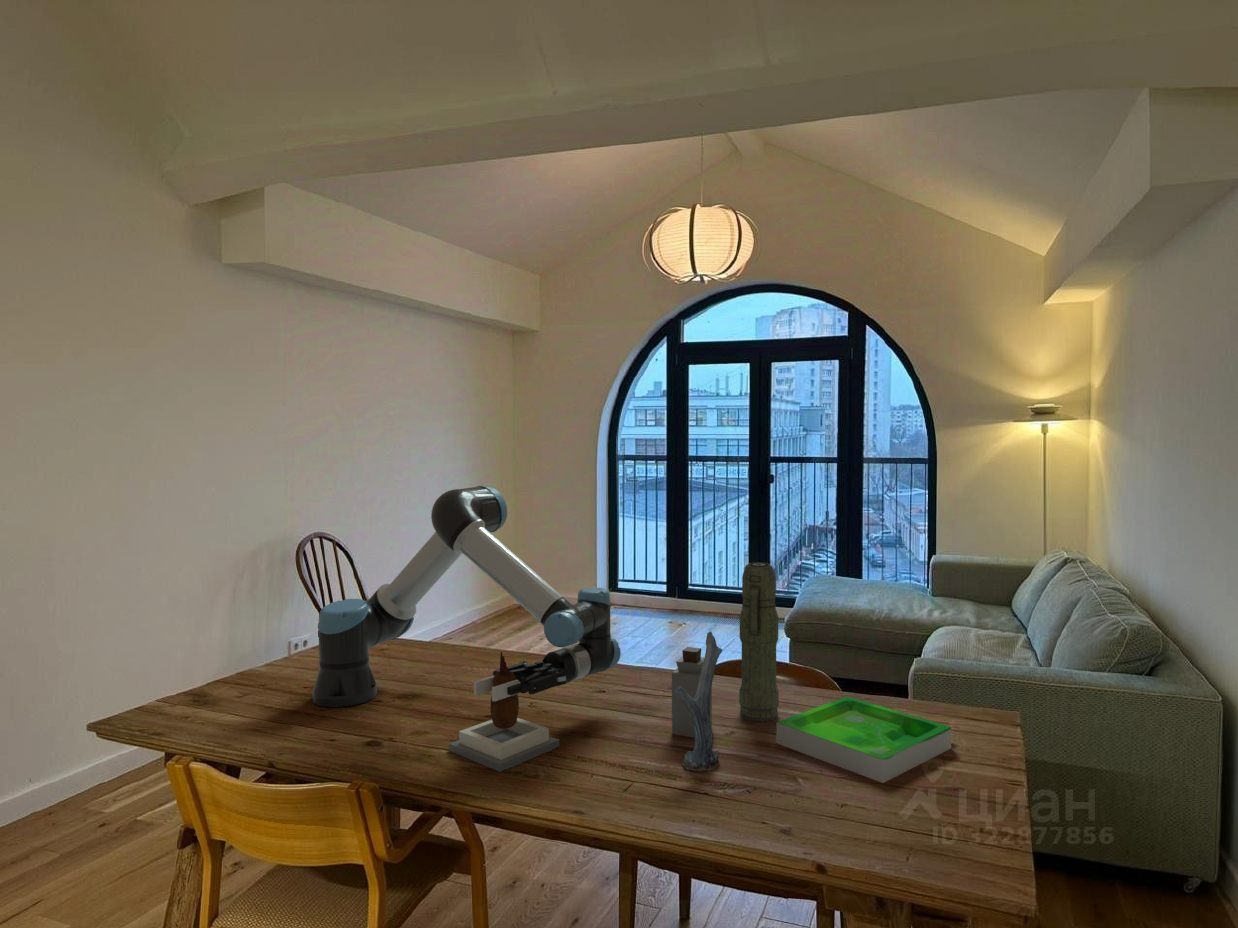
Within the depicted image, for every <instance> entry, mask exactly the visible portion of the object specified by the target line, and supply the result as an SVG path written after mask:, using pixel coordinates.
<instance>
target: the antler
mask: <svg viewBox="0 0 1238 928" xmlns="http://www.w3.org/2000/svg"><path fill="white" fill-rule="evenodd" d="M706 634H707V635H706V637H705V638H706V640H705V645H706V646H705V652H704V653H705V655H704V662H703V666H702V670H701V674H700V679H699V683H698V688H697V692H696V695H695V697H694V698H692V697H690V696H689V695H688V693H687V692H686V691H685V690H684V688H683V687H681V686H679V687H677V688H676V689H675V693H676V695H677V696H678V698H679V699H680V700H682V701H683V703H685V705H686V707H687V710H688V712H689V715H690V716H691V719H692V722H693V724H694V732H695V738H694V746H693V747H694V749H693V751H691V750H688V751H686V754H685V755H684V759H683V760H684V761H683V762H682V763H681V766H683V767H684V768H685V769H686V770H690V771H691V770H692V771H695V772H696V771H697V772H703V771H712V770H715V769H716V768H717V767H718V766H719V765H720V760H719V756H720V755H719V753H720V752H719V750H715V751H713V746H714V745H713V744H714V743H713V742H714V734H713V730H712V729H713V728H711V722H710V716H711V715H710V709H709V708H710V691H711V686H712V684H713V679H714V676H715V673H716V672H715V671H716V666H717V663H718V659H719V658H720V656H721V653H722V652H723V649H722V648H721V647H718V645H717V641H716V637H715V636H714V635H713V633H712V631H708V632H707V633H706ZM712 687H713V686H712Z"/></svg>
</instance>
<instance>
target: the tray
mask: <svg viewBox="0 0 1238 928" xmlns="http://www.w3.org/2000/svg"><path fill="white" fill-rule="evenodd" d="M776 744H778V745H781V746H783V747H786V748H788V749H791V750H794V751H797V752H799V753H801V754H804V755H807V756H810V757H812V758H814V759H818V760H820V761H822V762H826V763H827V764H831V765H834V766H836V767H839V768H841V769H843V770H846V771H849V772H853V773H855V774H858V775H860V776H863V777H866V778H868V779H870V780H874V781H877V782H880V783H882V784H884V783H886V782H889V781H890V780H892V779H894V778H896V777H898V776H900V775H901V774H904V773H906V772H907V771H909V770H911V769H914V768H916V767H918V766H920V765H921V764H924V763H926V762H928V761H929V760H931V759H933V758H935V757H937V756H939V755H941V754H943V753H945V752H947V751H949V750H950V749H952V726H950V725H946V724H943V723H939V722H938V721H937V722H936V721H933V720H930V719H926V718H922V717H920V716H915V715H912V714H909V713H906V712H901V711H899V710H895V709H892V708H888V707H885V706H882V705H878V704H874V703H871V702H869V701H868V702H867V701H863V700H861V699H858V698H854V697H851V696H847V695H846V696H844V697H841V698H838V699H836V700H833V701H831V702H828V703H825V704H823V705H820V706H816V707H814V708H812V709H809V710H806V711H803V712H801V713H797V714H795V715H792V716H790V717H787V718H784V719H782V720H779V721H776Z"/></svg>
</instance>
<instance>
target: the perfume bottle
mask: <svg viewBox="0 0 1238 928" xmlns="http://www.w3.org/2000/svg"><path fill="white" fill-rule="evenodd" d="M681 652H682V656H681V657H680V658H678V659H677V660H676V661H675V663H676V667H677V668H676V669H675V670H673V671H671V734H672V735H675V736H676V735H677V736H681V737H688V738H694V739H695V732H694V724H693V722H692V719H691V716H690V715H689V712H688V710H687V707H686V705H685V703H683V701H682V700H680V699H679V698H678V696H677V695H676V693H675V689H676V688H677V687H679V686H681V687H683V688H684V690H685V691H686V692H687V693H688V695H689V696H690V697H692V698H694V697H695V695H696V692H697V688H698V683H699V679H700V674H701V670H702V666H703V662H704V658H705V656H704V657H703V656H702V647H701V648H700V647H691V646H687V647H685V648H683V649H682V651H681ZM712 688H713V686H711V691H710V708H709V709H710V715H711V716H710V722H711V728H712V727H713V726H712V725H713V724H712V723H713V722H712V721H713V718H712V717H713V716H712V714H713V713H712V711H713V709H712V707H713V698H712V696H713V695H712V693H713V691H712V690H713V689H712ZM712 729H713V728H712Z"/></svg>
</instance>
